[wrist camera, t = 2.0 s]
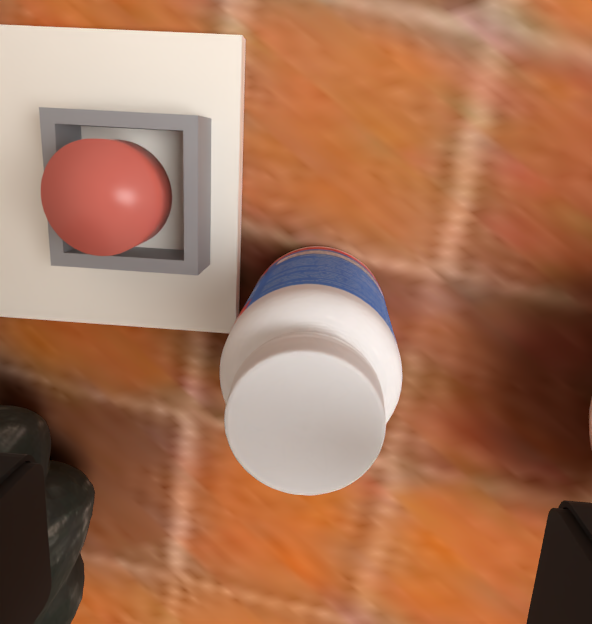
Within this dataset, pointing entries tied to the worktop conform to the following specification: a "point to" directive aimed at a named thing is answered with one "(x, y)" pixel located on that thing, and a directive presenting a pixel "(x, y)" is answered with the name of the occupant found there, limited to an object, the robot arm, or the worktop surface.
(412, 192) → the worktop surface
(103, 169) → the button
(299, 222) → the worktop surface
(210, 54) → the white flat board
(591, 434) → the lidded jar
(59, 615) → the squash
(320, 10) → the worktop surface
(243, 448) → the pill bottle
